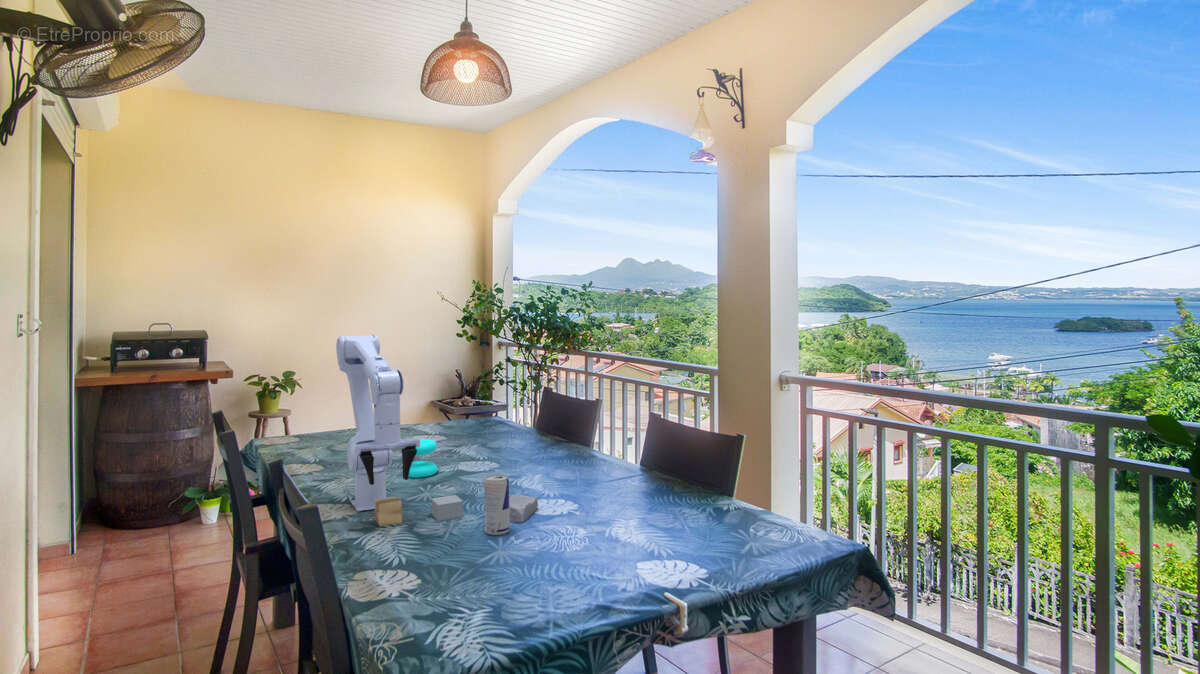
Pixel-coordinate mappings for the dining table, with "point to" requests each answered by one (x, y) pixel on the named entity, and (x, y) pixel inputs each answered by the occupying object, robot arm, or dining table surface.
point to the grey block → (447, 507)
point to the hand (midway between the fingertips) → (388, 481)
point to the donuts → (424, 467)
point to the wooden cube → (388, 511)
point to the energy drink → (496, 504)
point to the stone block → (521, 508)
